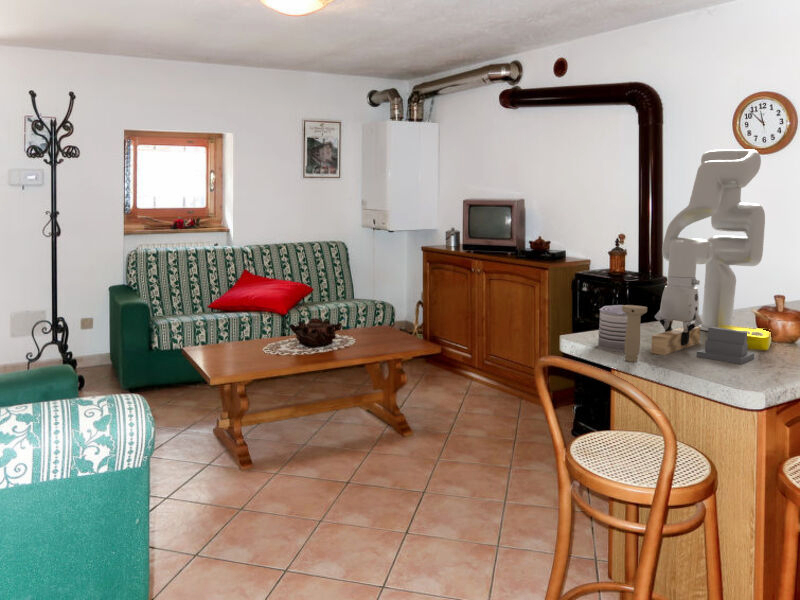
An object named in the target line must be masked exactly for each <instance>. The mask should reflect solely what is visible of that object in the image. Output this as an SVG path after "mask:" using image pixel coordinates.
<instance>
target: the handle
mask: <svg viewBox="0 0 800 600" xmlns="http://www.w3.org/2000/svg"><path fill="white" fill-rule="evenodd" d="M622 305H623V306H622V311H623V312H625V313H626V314H627V317H628V319H627V328H626V335H625V352H624V354H625V355H624V361H625V362H629V363H636V362H637V361H638V358H639V354H640V353H639V352H640V348H641V319H642V318H641V317H642V316H643V315H644V314H647V312H648V307H647V306H643V305H634V304H625V305H624V304H622Z"/></svg>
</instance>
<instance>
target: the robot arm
mask: <svg viewBox="0 0 800 600" xmlns="http://www.w3.org/2000/svg"><path fill="white" fill-rule="evenodd" d="M761 164H762V159H761V155H760V153H759V152H758V150H755V149H714V150H709V151H705V152H704V153H703V154H702V156H701V158H700V164H699V166H698V168H697V172H696V175H695V178H694V182H693V188H692V191H691V196H690V198H689V199H690V200H689V202H688V205H687V206H686V207H685V208H683V209H682V210H681V211H680V212H678V213H677V214H676V215H675V217H674V218H673V219H672V220H671V221H669V222H670V223H669V224H668V226H667V228H666V232H665V235H664V238H663V242H662V246H661V247H662V248H661V249H662V250H661V252H662V253H661V254H662V256H663V259H664V260H665V261H667V262H668V270H667V283H666V284H667V285H664V289H663V291H662V296H661V301H660V307H659V308H660V309H659V310H658V311H657V313H656V314H655V315H654V318H655V319H656V320H657V321H658V322H659V323H660V324H661V325H662V327H663V329H664V332H667V331H670V330H673V328H672V327H673V323H674V321H676V322H681V323H682V327H683V329H684V330H683V332H682V336H681V345H682V346H684V345H687V343H688V342H689V334H690V331H691V330H692V329H694V328H695V327H696V326H697V327H701V328H700V331H705V332H708V327H719V326H721V325H730V326H733V322H734V320H735V316H734V310H735V309H734V308H735V299H736V298H735V295H736V294H735V293H736V285H737V277H736V275H735V272H734V271H733V269H732V268H731V266H736V267H737V266H739V267H740V266H741V267H756V266H758V265H759V264H760V263H761V262H762V258H763V253H764V240H765V225H766V214H765V210H764V207H763V206H762V205H761V204H758V203H753V202H742V201H741V197H742V189H743V188H745V187H746V186H747V185H748V184H749V183H750V182H751V181H752V180H753V179H754V178H755V177H756V176H757V174H758V173H759V171H760V169H761ZM707 218H710V220H711V221H710V223H711V227H712V229H713V230H715V231H718V232H727V233H741V234H742V233H744V234H746V236H741V235H739V236H736V235H725V234H724V235H719V234H718V235H714V236H711V237H709V238H708V239H705V238H704V239H703V238H692V237H691V238H690V237H679V235H680V234H681V232H682V231H683V230H684V229H685V228H686V227H688V226H690V225H691V224H695V223H696V222H700V221H702V220H704V219H707ZM697 265H705V273H704V274H705V275H704V288H703V300H702V309H701V310H702V311H701V316H700V297H699V291H698V290H699V289H698V287H696V286H700V283H701V282H700V280H698V279H697V277H696V274H697V273H696V272H697ZM692 322H693V323H692Z"/></svg>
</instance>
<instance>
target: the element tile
mask: <svg viewBox="0 0 800 600" xmlns="http://www.w3.org/2000/svg"><path fill="white" fill-rule="evenodd" d="M718 328H725V329H731V330H738V331H745V332H748V334H747V344H748V348H747V350H749V349H750V350H759V351H769V349H770V346H771V344H772V337H771V332H769V331H766V330H763V329H764V328H758V327H751V326H750V327H749V326H744V325H742V326H739V325H732V326H730V325H721V326H719V327H718Z"/></svg>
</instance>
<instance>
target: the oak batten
mask: <svg viewBox="0 0 800 600" xmlns="http://www.w3.org/2000/svg"><path fill="white" fill-rule="evenodd" d="M700 328H701V327H697V326H696V327H695V328H694V329H692V330H691V331H690V334H689V342H688V343H687V345H684V346H682V345H681V336H682V332H683V330H684V329H683V326H681V327H678V328H677V327H676V328H674V329H673V328H672V329H673V330H670V331H667V332H665V331H663V332H660V333H656V334H654V335H653V334H652V336H651V349H650V351H651V352H650V353H651V354H657V355H661V356H667V355H669V354H672V353H675V352H678V351H680V350H683V348H684V349H686V347H687V348H690V347H691V346H695V345H698V344H700V339H701V330H700ZM677 350H678V351H677ZM674 351H675V352H674ZM671 352H672V353H671ZM666 354H667V355H666Z"/></svg>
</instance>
